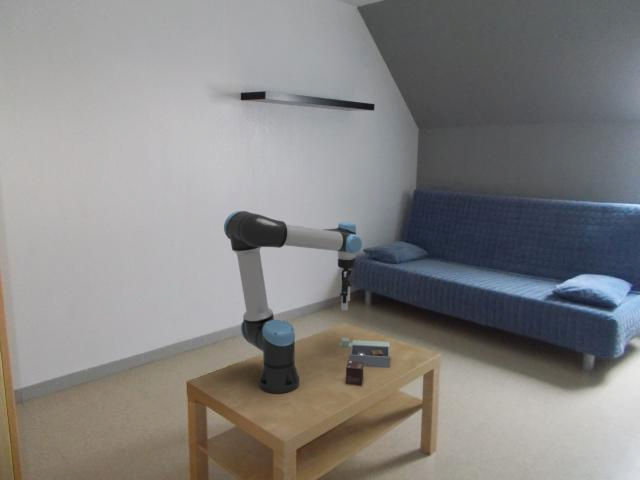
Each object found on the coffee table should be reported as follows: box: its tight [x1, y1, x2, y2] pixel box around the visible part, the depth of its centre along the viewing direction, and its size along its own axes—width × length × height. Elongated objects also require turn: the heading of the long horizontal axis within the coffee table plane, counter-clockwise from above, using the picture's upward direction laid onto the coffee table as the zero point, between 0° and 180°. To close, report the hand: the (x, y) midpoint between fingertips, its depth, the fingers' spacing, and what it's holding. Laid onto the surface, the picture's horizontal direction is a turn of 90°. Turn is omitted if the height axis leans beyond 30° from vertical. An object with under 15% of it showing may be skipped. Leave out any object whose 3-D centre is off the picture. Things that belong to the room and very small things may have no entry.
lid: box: [339, 336, 391, 352], centre depth 220 cm, size 22×12×4 cm, turn 83°
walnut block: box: [371, 350, 383, 356], centre depth 204 cm, size 4×4×4 cm
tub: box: [349, 345, 391, 369], centre depth 205 cm, size 16×11×5 cm
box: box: [345, 360, 364, 387], centre depth 187 cm, size 6×6×7 cm
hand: (345, 305), depth 217 cm, fingers open, 13 cm apart
